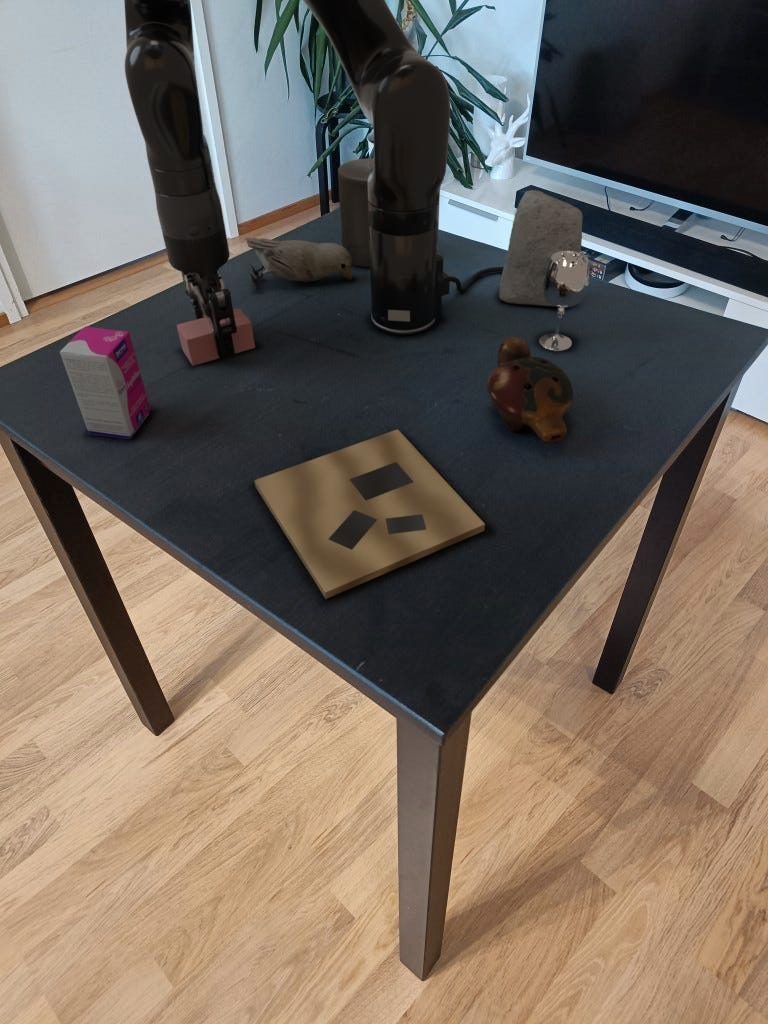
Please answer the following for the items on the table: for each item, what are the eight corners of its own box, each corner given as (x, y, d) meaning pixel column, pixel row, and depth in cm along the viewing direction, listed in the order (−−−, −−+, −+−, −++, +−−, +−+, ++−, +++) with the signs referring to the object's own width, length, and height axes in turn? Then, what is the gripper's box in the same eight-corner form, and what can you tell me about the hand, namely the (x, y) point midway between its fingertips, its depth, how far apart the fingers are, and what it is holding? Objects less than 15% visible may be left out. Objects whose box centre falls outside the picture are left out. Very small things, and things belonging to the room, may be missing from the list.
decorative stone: (575, 295, 107) (593, 193, 97) (569, 314, 103) (587, 210, 93) (504, 285, 110) (514, 185, 100) (495, 303, 106) (505, 201, 96)
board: (397, 435, 84) (397, 428, 83) (484, 530, 73) (485, 524, 72) (255, 487, 78) (254, 480, 77) (325, 599, 67) (324, 592, 66)
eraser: (243, 333, 101) (239, 307, 99) (255, 347, 98) (251, 322, 96) (182, 350, 98) (176, 324, 96) (192, 366, 96) (186, 340, 93)
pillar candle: (337, 266, 116) (330, 169, 105) (349, 240, 123) (344, 147, 112) (396, 270, 114) (395, 172, 104) (405, 243, 121) (405, 149, 111)
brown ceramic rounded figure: (527, 376, 92) (540, 322, 86) (590, 451, 83) (610, 396, 77) (460, 389, 90) (469, 335, 84) (517, 469, 80) (532, 414, 74)
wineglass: (529, 348, 97) (541, 265, 89) (539, 328, 101) (552, 246, 92) (572, 356, 95) (588, 272, 87) (580, 335, 99) (596, 252, 91)
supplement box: (133, 440, 84) (105, 357, 76) (87, 434, 85) (55, 351, 77) (154, 411, 88) (129, 329, 80) (110, 406, 89) (81, 324, 81)
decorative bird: (354, 287, 110) (351, 240, 105) (250, 293, 110) (242, 246, 104) (352, 271, 114) (350, 225, 109) (252, 277, 113) (244, 230, 108)
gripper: (242, 238, 83) (261, 360, 94) (203, 198, 92) (224, 313, 103) (180, 253, 80) (207, 376, 92) (146, 209, 89) (174, 326, 101)
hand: (216, 342), depth 98 cm, fingers open, 7 cm apart
